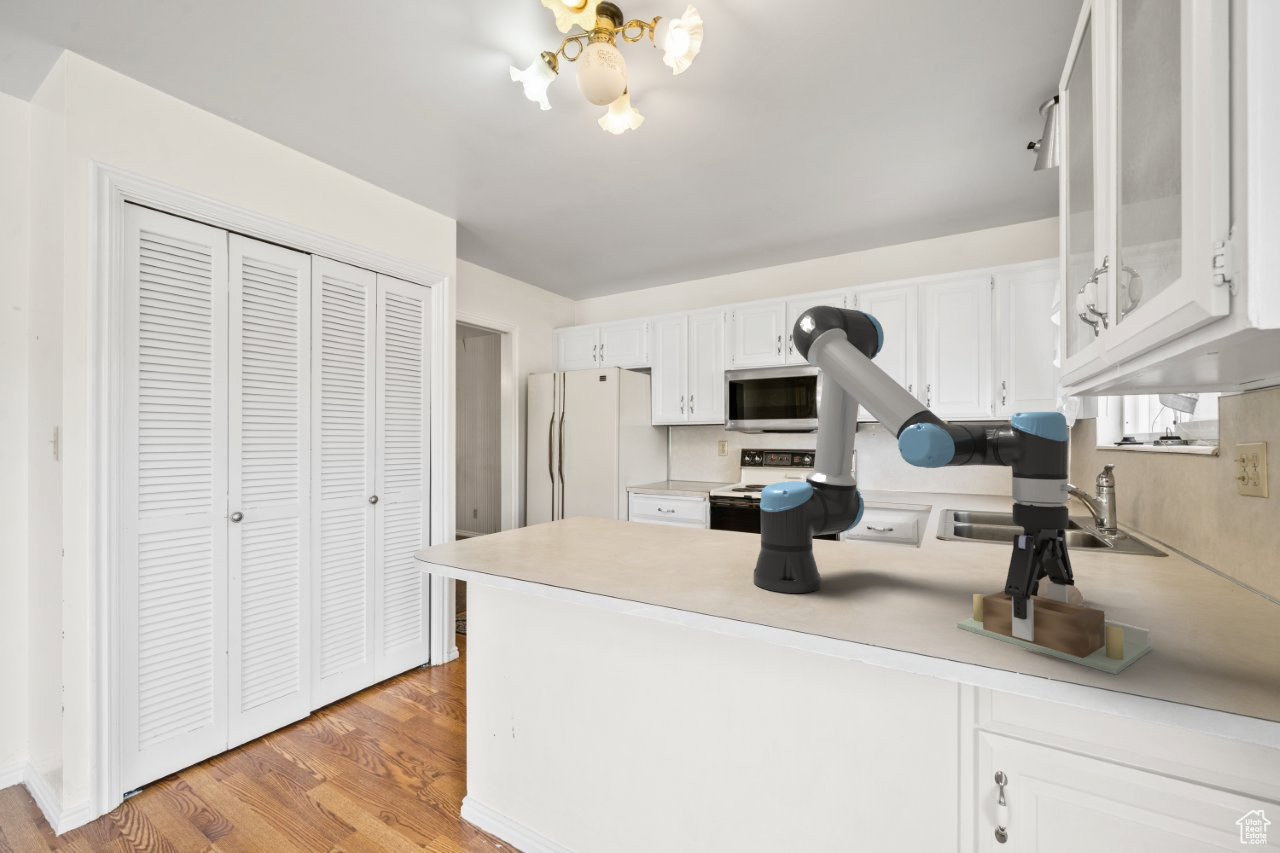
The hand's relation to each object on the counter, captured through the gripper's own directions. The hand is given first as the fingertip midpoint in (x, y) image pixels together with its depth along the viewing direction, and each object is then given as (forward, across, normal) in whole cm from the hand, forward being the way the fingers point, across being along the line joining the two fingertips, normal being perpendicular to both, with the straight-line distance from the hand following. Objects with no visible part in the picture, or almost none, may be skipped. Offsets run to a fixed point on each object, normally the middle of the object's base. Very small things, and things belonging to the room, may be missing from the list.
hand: (1041, 629), depth 88 cm
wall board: (+2, +3, 0) cm, 4 cm away
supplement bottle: (+2, +27, +10) cm, 29 cm away
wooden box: (+1, 0, 0) cm, 1 cm away
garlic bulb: (+2, +21, +4) cm, 22 cm away
